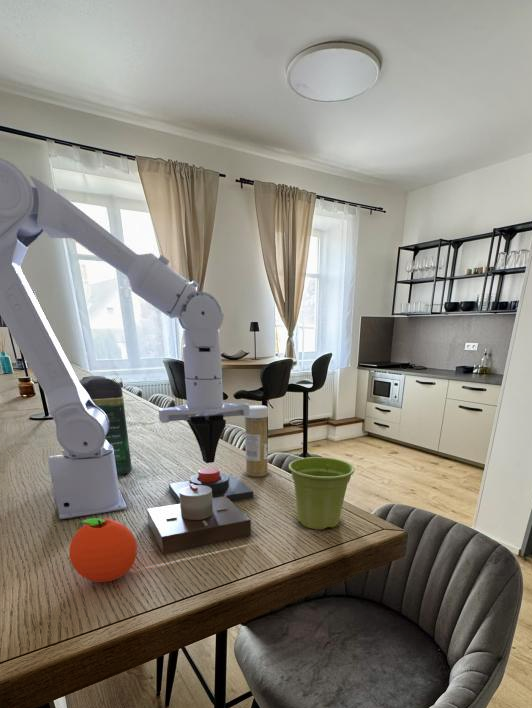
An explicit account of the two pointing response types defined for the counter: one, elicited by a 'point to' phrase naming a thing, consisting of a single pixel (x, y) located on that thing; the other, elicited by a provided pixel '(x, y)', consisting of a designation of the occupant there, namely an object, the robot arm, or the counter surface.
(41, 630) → the counter surface
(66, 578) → the counter surface
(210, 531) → the dimmer plate
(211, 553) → the counter surface
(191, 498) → the dial
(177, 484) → the switch block
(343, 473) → the plant pot
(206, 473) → the switch button
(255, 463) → the spice jar
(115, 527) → the clementine
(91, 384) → the coffee jar
